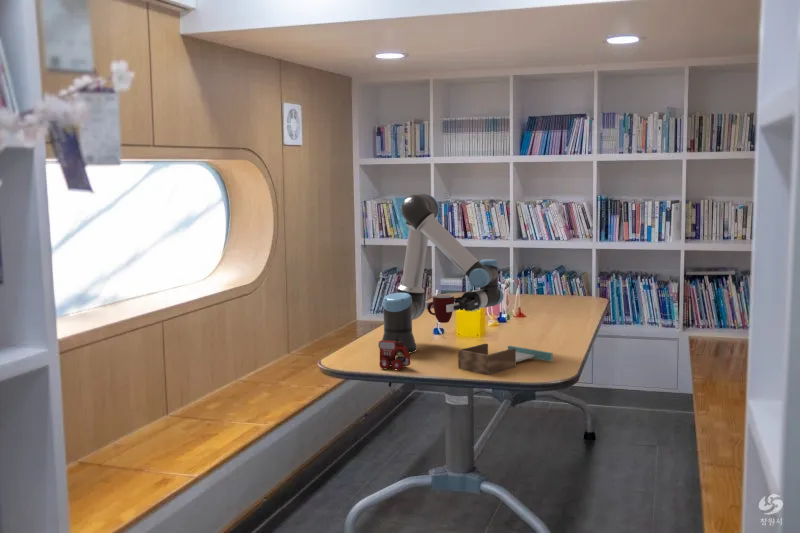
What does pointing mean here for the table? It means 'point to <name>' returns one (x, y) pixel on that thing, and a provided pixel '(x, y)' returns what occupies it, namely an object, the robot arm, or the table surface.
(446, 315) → the mug
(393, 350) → the toy fire truck
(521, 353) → the tray
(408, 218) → the robot arm
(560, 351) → the table surface
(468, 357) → the box
